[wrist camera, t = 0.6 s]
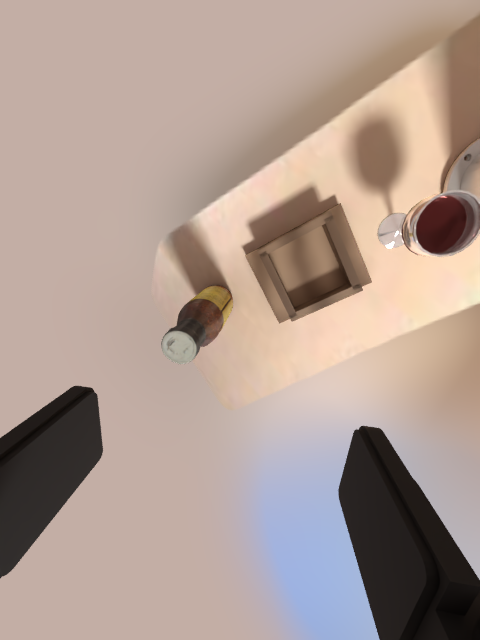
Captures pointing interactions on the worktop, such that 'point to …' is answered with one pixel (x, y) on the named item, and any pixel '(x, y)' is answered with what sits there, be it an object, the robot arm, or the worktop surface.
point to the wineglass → (435, 225)
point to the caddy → (310, 266)
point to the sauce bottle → (197, 324)
